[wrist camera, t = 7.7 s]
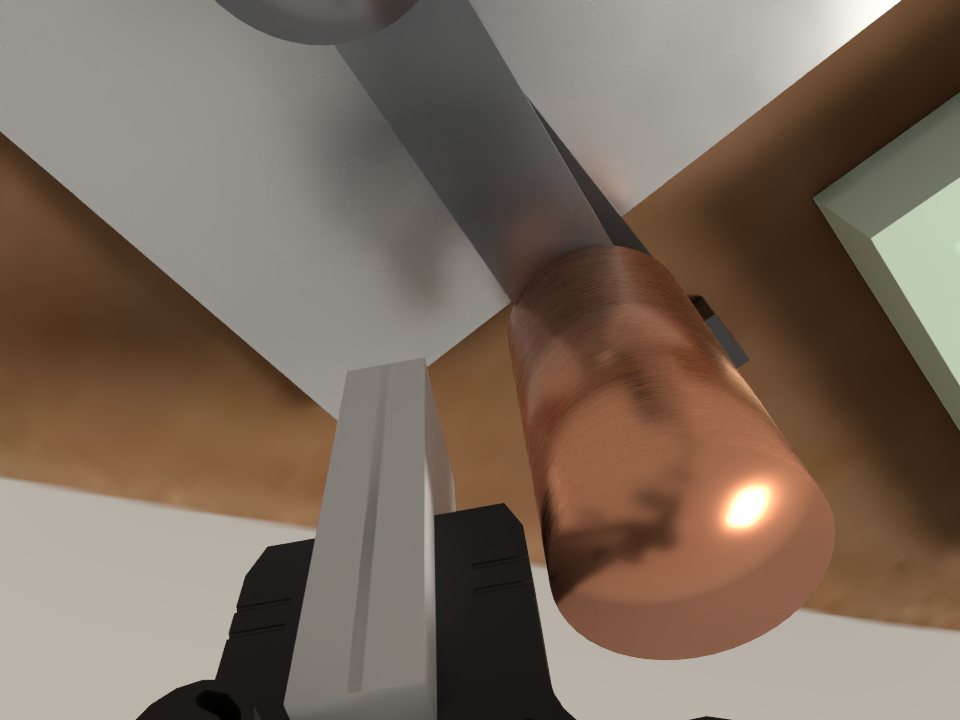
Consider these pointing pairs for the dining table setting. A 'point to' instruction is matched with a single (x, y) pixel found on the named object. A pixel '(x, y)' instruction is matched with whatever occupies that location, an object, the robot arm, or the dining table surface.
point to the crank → (591, 356)
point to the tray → (910, 240)
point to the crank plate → (370, 151)
